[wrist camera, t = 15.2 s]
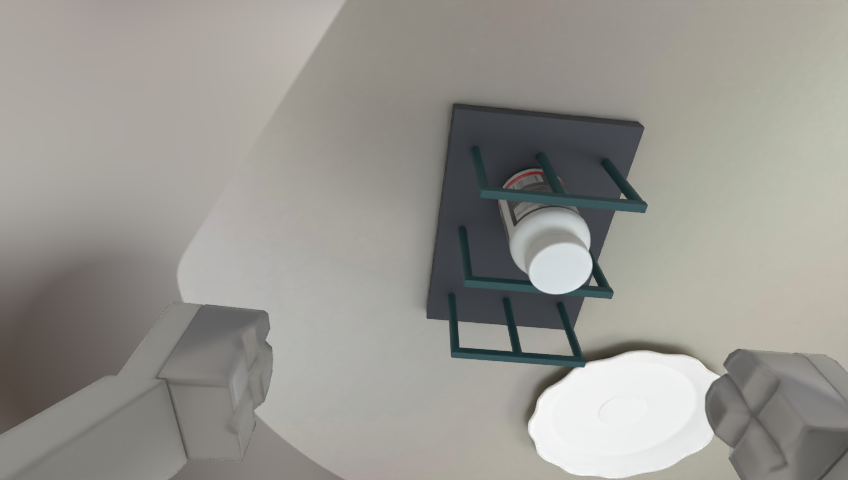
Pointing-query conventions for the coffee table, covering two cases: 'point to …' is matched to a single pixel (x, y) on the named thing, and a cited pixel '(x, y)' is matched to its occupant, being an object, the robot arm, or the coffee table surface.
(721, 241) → the coffee table surface
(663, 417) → the plate
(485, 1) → the coffee table surface
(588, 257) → the pill bottle
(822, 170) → the coffee table surface
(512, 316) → the rack
